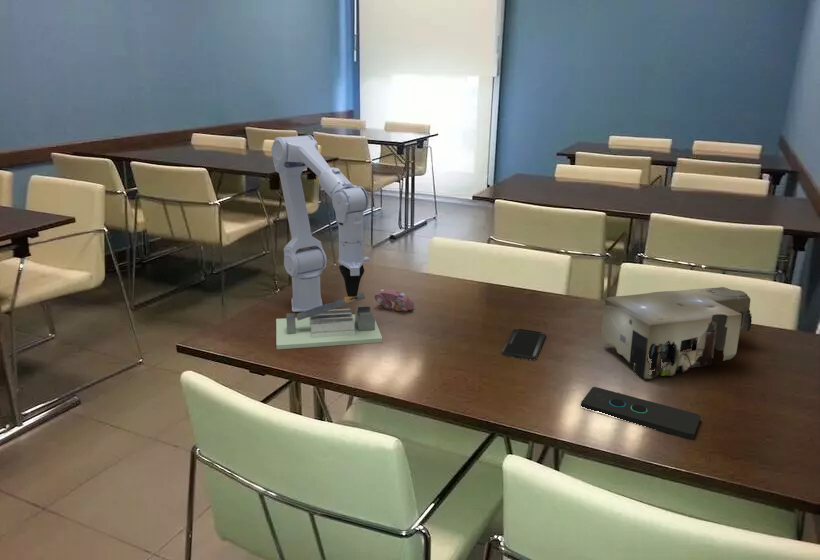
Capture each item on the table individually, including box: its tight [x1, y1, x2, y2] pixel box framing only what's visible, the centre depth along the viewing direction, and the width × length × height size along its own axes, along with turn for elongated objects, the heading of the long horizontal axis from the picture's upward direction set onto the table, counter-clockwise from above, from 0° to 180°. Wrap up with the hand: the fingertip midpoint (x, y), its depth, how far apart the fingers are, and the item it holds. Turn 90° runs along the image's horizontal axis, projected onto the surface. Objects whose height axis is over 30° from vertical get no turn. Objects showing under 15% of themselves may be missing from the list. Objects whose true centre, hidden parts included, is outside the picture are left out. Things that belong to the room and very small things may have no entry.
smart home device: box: [580, 386, 701, 440], centre depth 119 cm, size 8×2×20 cm
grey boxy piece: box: [600, 286, 753, 381], centre depth 142 cm, size 18×33×13 cm, turn 105°
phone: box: [501, 328, 547, 361], centre depth 148 cm, size 8×1×15 cm
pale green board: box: [275, 313, 383, 350], centre depth 154 cm, size 16×24×1 cm, turn 101°
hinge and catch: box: [285, 304, 376, 334], centre depth 153 cm, size 6×20×4 cm, turn 101°
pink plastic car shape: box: [374, 288, 415, 312], centre depth 168 cm, size 10×5×7 cm, turn 62°
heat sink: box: [309, 308, 355, 338], centre depth 153 cm, size 10×10×3 cm
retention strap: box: [296, 292, 366, 320], centre depth 152 cm, size 3×16×1 cm, turn 101°
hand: (352, 295), depth 152 cm, fingers closed
